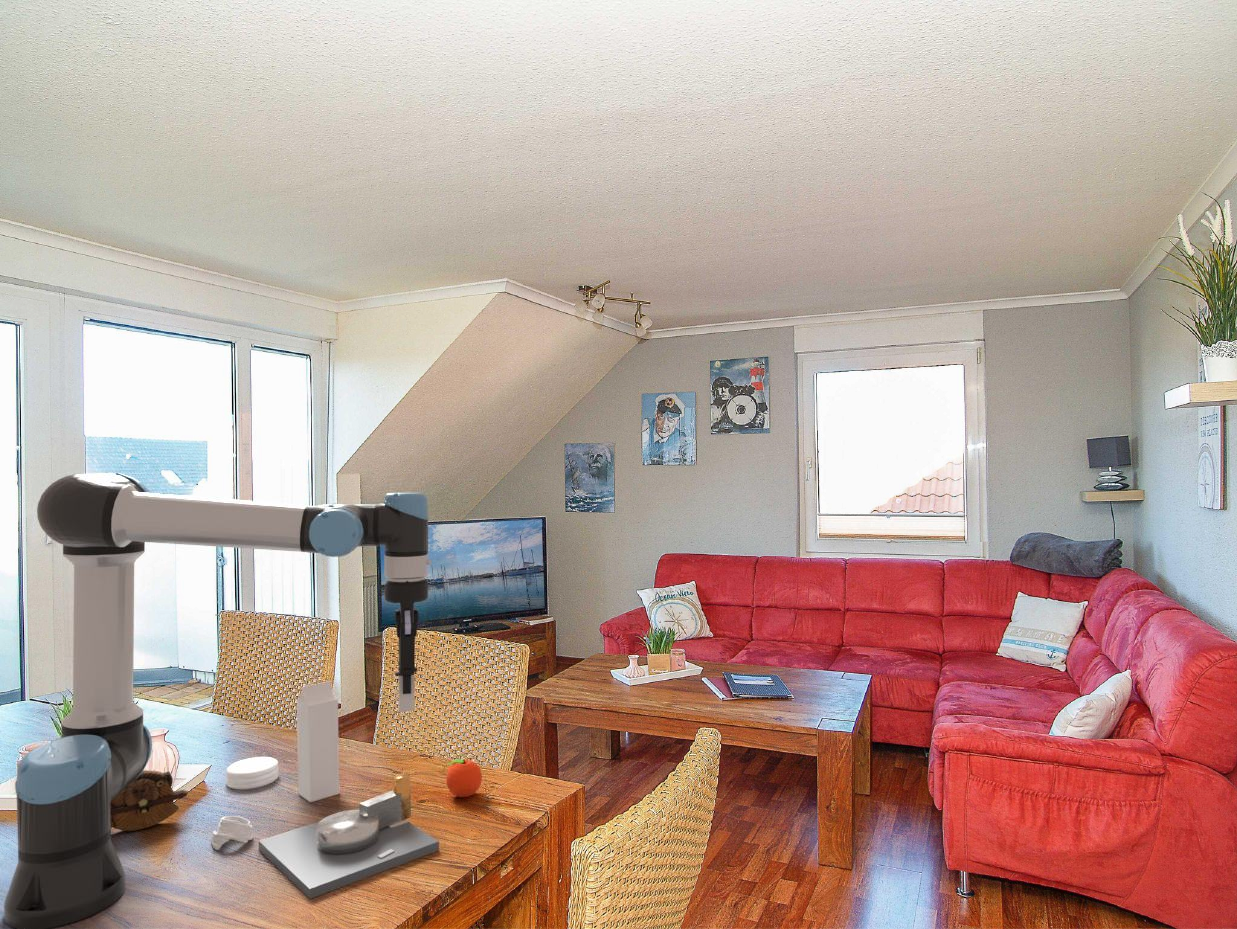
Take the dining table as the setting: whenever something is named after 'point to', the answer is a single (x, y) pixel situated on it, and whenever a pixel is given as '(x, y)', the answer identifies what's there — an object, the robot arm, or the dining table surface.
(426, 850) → the plate
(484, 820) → the dining table surface
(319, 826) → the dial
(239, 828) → the whipped cream
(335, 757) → the milk
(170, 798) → the wooden carving
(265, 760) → the round white tin
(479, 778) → the clementine
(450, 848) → the dining table surface
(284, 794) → the dining table surface
